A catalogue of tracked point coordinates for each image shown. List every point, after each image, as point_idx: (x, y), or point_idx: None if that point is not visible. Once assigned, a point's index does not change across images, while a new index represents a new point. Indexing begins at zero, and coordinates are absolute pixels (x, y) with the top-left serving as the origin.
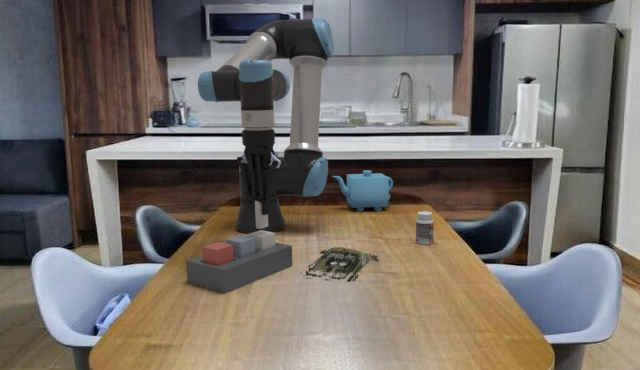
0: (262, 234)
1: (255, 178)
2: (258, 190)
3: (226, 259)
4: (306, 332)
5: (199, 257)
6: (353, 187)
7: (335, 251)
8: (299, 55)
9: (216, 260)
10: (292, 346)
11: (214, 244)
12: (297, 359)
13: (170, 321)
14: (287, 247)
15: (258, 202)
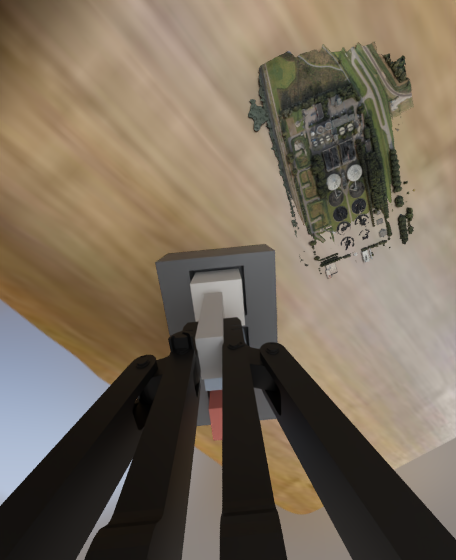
0: (227, 309)
1: (185, 495)
2: (194, 396)
3: None
4: (431, 397)
5: None
6: None
7: (288, 101)
8: None
9: None
10: (433, 422)
11: (218, 422)
12: (450, 433)
13: (286, 457)
14: (274, 266)
15: (221, 375)
